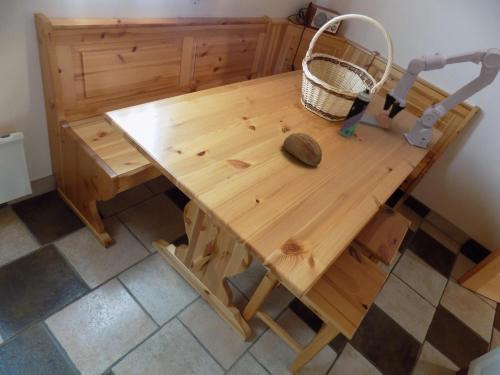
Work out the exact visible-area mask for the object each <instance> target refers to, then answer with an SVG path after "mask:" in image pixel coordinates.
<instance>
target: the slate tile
mask: <svg viewBox="0 0 500 375" xmlns="http://www.w3.org/2000/svg"><path fill="white" fill-rule="evenodd" d="M358 124H362V125H364V126H369V127H374V128H378V129H379V128H381V127H380V124H379V123H378V121H377V117H376V116H375V115H373V114H370V113H366V112H364V114H363V116H362V118H361V120H360V122H359V123H358Z"/></svg>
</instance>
